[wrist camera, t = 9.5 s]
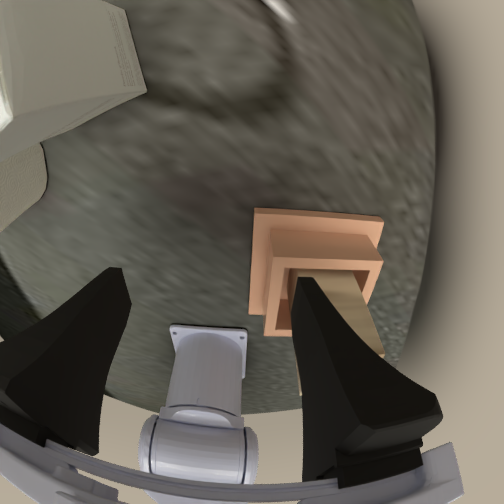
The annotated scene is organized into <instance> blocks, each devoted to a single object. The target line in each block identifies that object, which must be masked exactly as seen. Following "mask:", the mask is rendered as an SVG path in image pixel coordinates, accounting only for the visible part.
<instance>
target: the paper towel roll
mask: <svg viewBox="0 0 504 504" xmlns="http://www.w3.org/2000/svg"><path fill="white" fill-rule="evenodd" d="M46 183H47V172H46V165H45V159H44V152H43V149H42V147H41V145H40V143H37V144H35V145H33V146H31V147H29V148H27V149H25V150H23V151H21V152H19V153H17V154H15V155H13V156H11V157H9V158H7V159H5V160H3V161H2V162H0V232H1V231H2V230H4V229H5V228H6V227H7V226H8V225H9V224H10V223H11V222H13V221H14V220H15V219H16V218H17V217H18V216H20V215H21V214H22V213H23V212H24V211H26V210H27V209H28V208H29V207H31V206H32V205H33V204H34V203H36V202H37V201H38V200H40V198H41V197H42V195H43V193H44V191H45V189H46Z"/></svg>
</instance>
